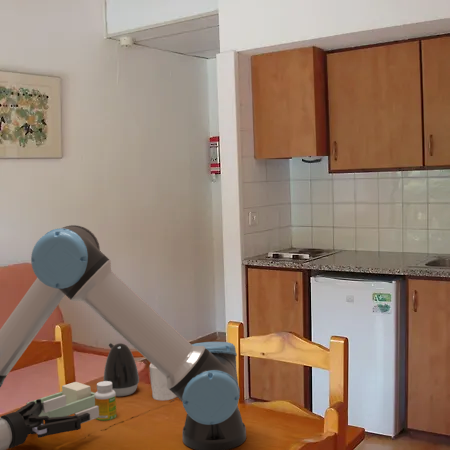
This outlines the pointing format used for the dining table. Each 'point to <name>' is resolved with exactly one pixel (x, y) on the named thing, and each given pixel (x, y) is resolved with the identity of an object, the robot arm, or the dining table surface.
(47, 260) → the robot arm
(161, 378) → the white cup
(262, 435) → the dining table surface
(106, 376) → the pump dispenser
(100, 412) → the supplement bottle
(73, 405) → the tray
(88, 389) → the off-white upright cuboid
